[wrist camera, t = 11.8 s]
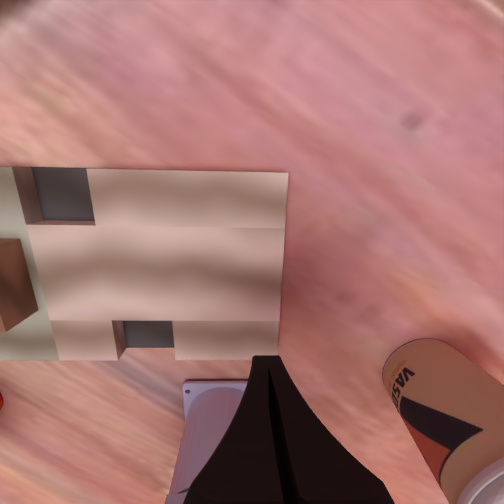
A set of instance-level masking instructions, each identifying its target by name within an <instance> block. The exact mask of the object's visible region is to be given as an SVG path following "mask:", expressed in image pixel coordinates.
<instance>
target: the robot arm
mask: <svg viewBox="0 0 504 504" xmlns="http://www.w3.org/2000/svg"><path fill="white" fill-rule="evenodd" d="M182 388H183V401H184V414H185V427H184V431H183V436H182V440H181V444H180V448H179V453H178V457H177V461H176V466H175V470H174V474H173V478H172V483H171V487H170V491H169V494H168V495H167V497H166V501H165V504H395V503H394V501H393V499H392V498H391V496H390V494H389V492H388V490H387V489H386V487H385V485H384V483H383V482H382V481H381V480H380V479H379V478H377V477H376V476H375V475H374V474H373V473H371V472H370V471H369V470H368V469H367V468H366V467H364V466H363V465H362V464H361V463H360V462H359V461H358V460H357V459H356V458H354V457H353V456H352V455H351V454H350V453H349V452H348V451H347V450H346V449H345V448H344V447H343V446H342V445H341V444H340V443H339V441H338V440H337V439H336V438H335V437H334V436H333V435H332V434H331V433H330V432H329V431H328V430H327V428H326V427H325V426H324V425H323V424H322V423H321V421H320V420H319V419H318V418H317V416H316V415H315V414H314V413H313V411H312V410H311V409H310V407H309V406H308V404H307V403H306V401H305V400H304V399H303V397H302V396H301V394H300V393H299V391H298V389H297V388H296V386H295V384H294V383H293V381H292V379H291V378H290V376H289V374H288V372H287V370H286V368H285V366H284V364H283V362H282V360H281V357H280V356H279V355H254V356H253V357H252V367H251V371H250V375H249V379H248V381H186V382H184V383H183V387H182ZM188 390H189V391H188Z"/></svg>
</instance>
